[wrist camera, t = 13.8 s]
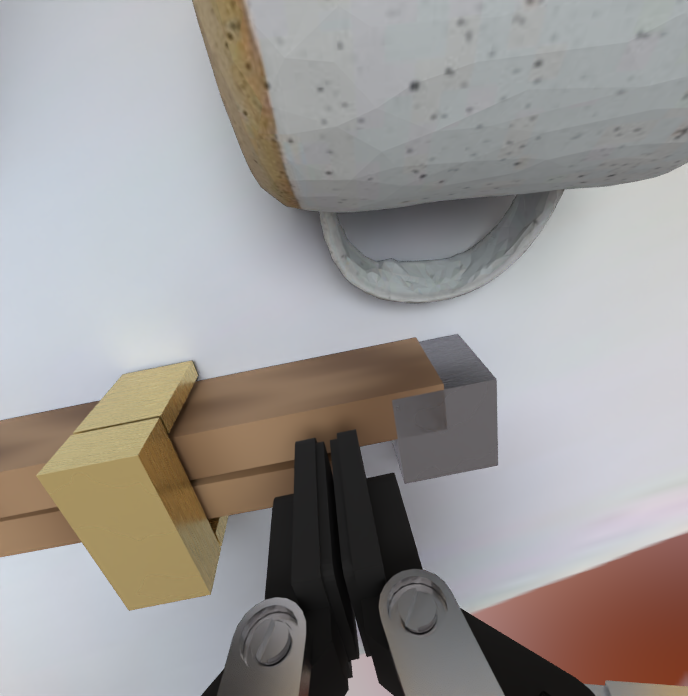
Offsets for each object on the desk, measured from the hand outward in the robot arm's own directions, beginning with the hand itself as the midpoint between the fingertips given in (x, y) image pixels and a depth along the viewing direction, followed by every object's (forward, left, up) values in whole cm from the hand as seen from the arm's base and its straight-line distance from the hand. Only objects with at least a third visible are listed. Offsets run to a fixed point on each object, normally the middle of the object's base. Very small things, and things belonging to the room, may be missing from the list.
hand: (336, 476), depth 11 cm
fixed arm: (-6, +1, -4) cm, 7 cm away
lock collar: (-5, 0, -4) cm, 7 cm away
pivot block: (+3, 0, -4) cm, 5 cm away
